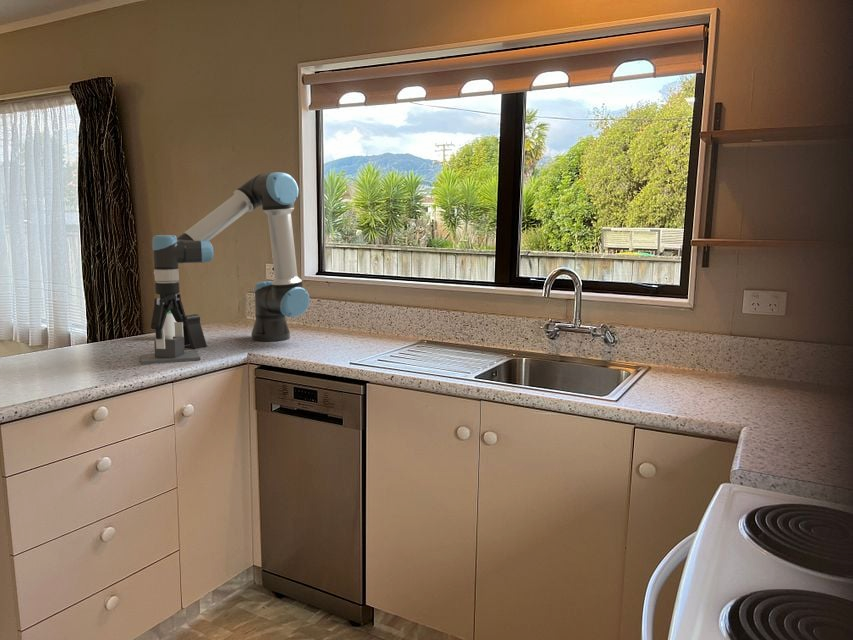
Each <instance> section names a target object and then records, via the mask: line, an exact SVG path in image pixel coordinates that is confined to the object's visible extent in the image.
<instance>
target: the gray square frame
mask: <svg viewBox="0 0 853 640" xmlns="http://www.w3.org/2000/svg"><path fill="white" fill-rule="evenodd" d="M153 346H154V353H155V357H167V358H176V357H179V356H181V355H183V354H185V352H184V351H185V348H184V337H178V336H173V339H166V336H165V349H156V338H154V345H153Z"/></svg>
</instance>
